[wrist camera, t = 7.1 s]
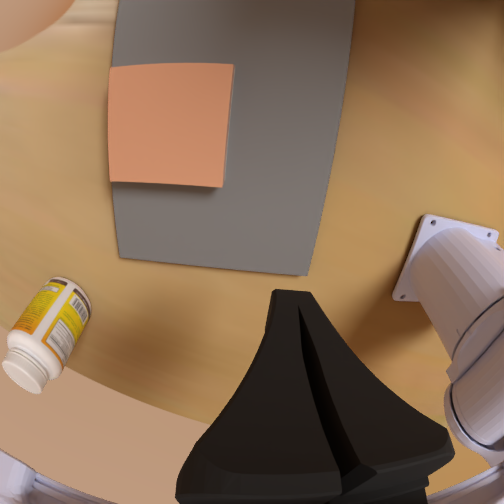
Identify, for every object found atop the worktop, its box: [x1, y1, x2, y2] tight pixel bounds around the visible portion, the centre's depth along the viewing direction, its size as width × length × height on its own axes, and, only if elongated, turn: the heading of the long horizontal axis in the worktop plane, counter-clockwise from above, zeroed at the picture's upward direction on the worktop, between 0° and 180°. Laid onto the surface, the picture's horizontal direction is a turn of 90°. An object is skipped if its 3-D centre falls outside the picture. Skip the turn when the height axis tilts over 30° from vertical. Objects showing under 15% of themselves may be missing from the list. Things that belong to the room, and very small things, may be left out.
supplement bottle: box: [2, 277, 91, 394], centre depth 20 cm, size 6×6×10 cm
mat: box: [112, 0, 355, 276], centre depth 16 cm, size 14×20×1 cm
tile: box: [108, 63, 235, 188], centre depth 15 cm, size 2×7×7 cm
